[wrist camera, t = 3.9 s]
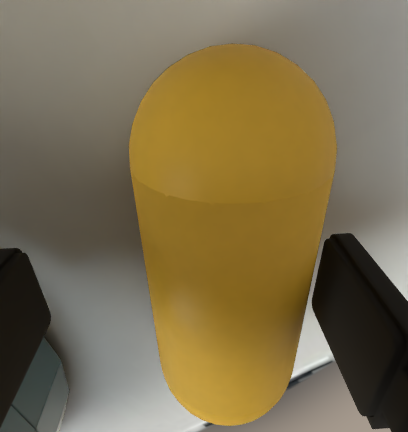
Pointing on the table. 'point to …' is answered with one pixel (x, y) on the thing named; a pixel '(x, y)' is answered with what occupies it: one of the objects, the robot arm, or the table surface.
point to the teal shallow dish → (39, 395)
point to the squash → (231, 221)
